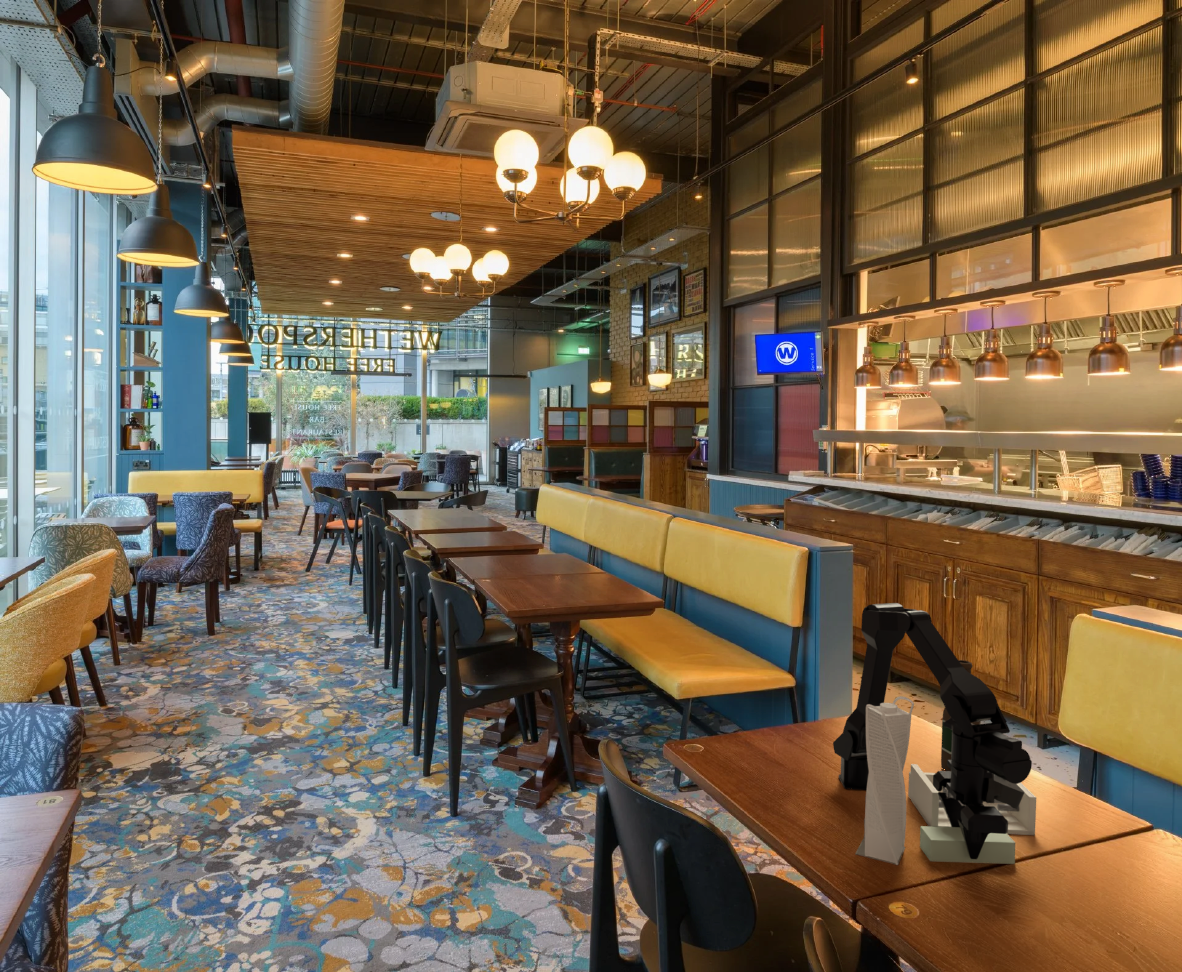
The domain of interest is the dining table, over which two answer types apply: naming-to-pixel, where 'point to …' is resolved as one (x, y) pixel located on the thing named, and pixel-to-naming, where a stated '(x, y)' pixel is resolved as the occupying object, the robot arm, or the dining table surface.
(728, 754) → the dining table surface
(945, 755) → the beer bottle
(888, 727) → the skyscraper
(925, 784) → the tray
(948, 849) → the shelf board
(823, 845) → the dining table surface
